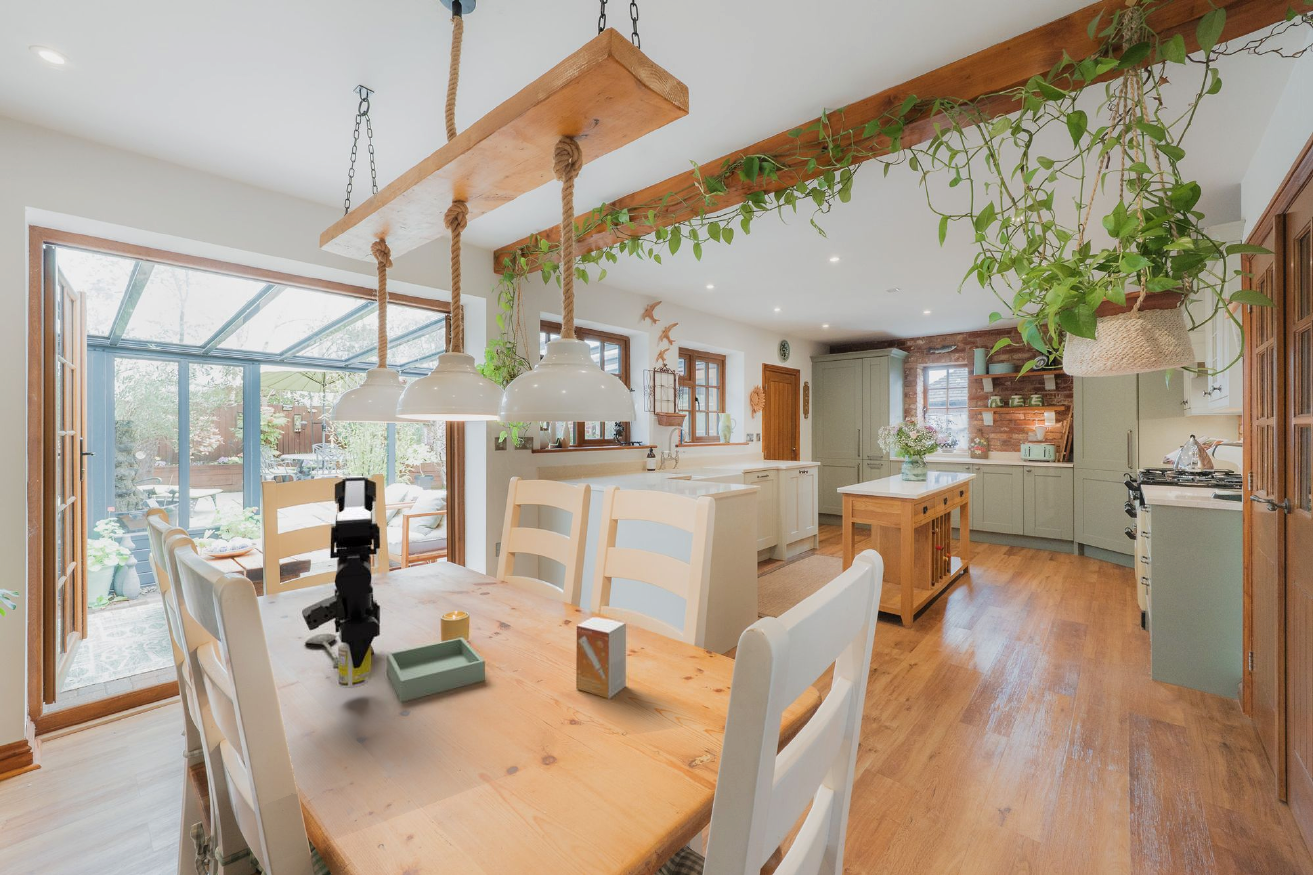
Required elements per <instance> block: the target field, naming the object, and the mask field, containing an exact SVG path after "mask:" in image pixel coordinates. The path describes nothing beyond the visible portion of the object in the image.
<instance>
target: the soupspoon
mask: <svg viewBox="0 0 1313 875" xmlns="http://www.w3.org/2000/svg"><path fill="white" fill-rule="evenodd" d="M336 638H337V635H336V634H333V633H320V634H319V633H318V634H316V635H314V636H311V637H310V638H308V639H307V640H306V641H305V642H304V644H317V645H323V646H324V647H325V648H326V649H327V651H328V652H329V653H330V654H331V657H332V658H333V665H332V668H337V667H338V656H337V655H336V652H335V651H334V650H333V649H332V647H331V645H330V644H329V643H331V642H333V641H335V639H336Z"/></svg>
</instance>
